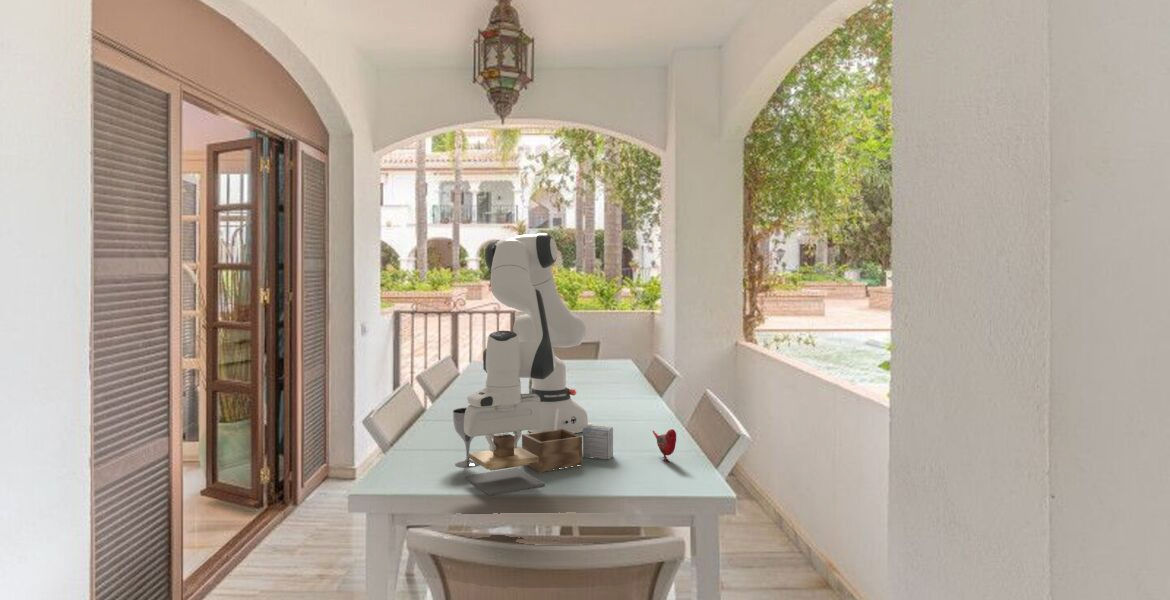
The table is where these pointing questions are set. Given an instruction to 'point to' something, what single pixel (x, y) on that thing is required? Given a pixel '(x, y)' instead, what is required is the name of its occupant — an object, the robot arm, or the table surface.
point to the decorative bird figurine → (666, 442)
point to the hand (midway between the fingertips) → (503, 449)
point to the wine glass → (463, 437)
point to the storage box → (553, 449)
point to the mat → (503, 481)
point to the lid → (503, 454)
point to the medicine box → (598, 442)
